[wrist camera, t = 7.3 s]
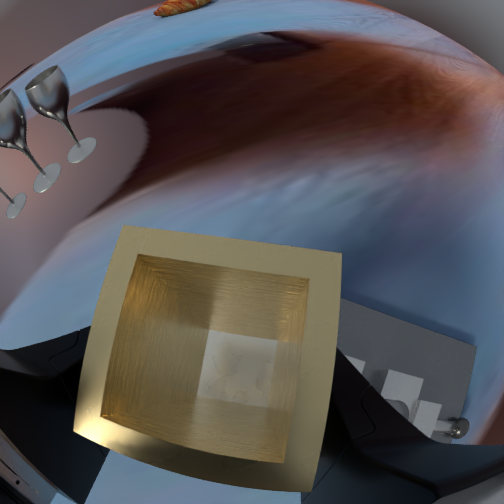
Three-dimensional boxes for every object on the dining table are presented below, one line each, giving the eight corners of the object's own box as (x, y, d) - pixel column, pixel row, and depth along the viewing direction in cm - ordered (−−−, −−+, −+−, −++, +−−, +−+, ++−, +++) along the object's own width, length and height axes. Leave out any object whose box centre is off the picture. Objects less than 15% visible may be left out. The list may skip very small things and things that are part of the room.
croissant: (207, 9, 62) (198, -8, 56) (227, -2, 55) (216, -21, 50) (152, 28, 55) (141, 9, 49) (168, 15, 48) (156, -6, 43)
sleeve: (277, 420, 11) (311, 492, 3) (183, 403, 12) (73, 431, 4) (291, 330, 13) (341, 253, 5) (200, 316, 14) (123, 224, 6)
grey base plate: (422, 500, 12) (468, 524, 5) (153, 427, 16) (105, 446, 10) (474, 350, 17) (530, 332, 11) (231, 261, 21) (220, 210, 15)
